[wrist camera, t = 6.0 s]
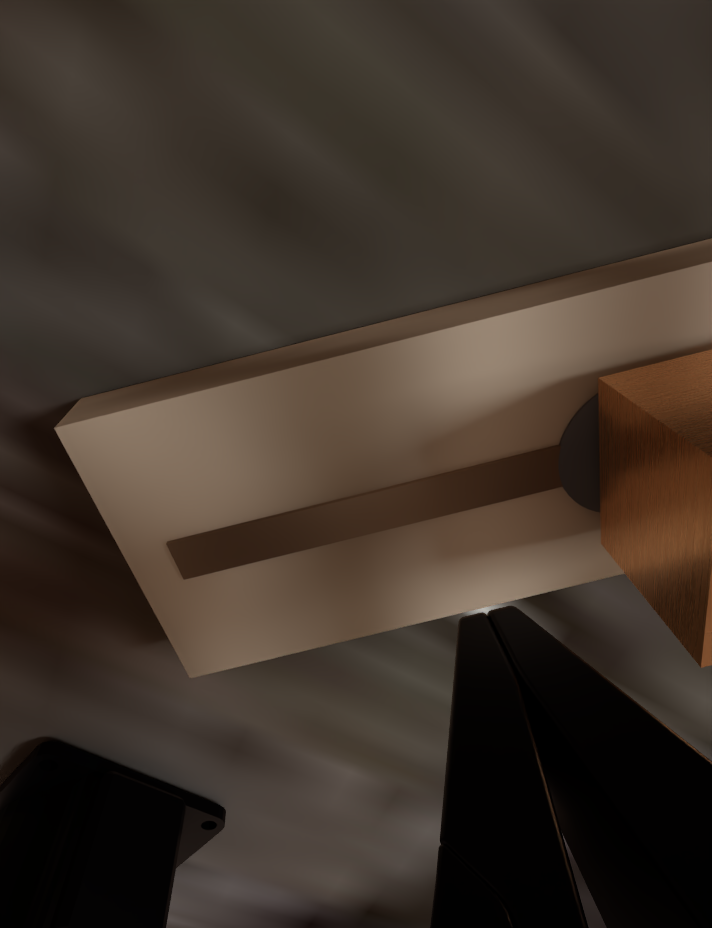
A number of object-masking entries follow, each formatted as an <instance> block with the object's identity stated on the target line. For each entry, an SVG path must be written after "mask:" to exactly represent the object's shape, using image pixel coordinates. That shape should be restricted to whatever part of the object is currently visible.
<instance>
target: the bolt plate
mask: <svg viewBox="0 0 712 928" xmlns="http://www.w3.org/2000/svg"><path fill="white" fill-rule="evenodd" d="M711 349H712V238H711V239H707V240H703V241H699V242H695V243H691V244H687V245H684V246H680V247H676V248H672V249H668V250H664V251H660V252H656V253H652V254H648V255H644V256H640V257H636V258H632V259H628V260H624V261H621V262H617V263H613V264H609V265H605V266H601V267H597V268H593V269H589V270H585V271H581V272H577V273H573V274H569V275H565V276H561V277H558V278H554V279H550V280H546V281H542V282H538V283H534V284H530V285H526V286H522V287H518V288H514V289H510V290H506V291H502V292H498V293H495V294H491V295H487V296H483V297H479V298H475V299H471V300H467V301H463V302H459V303H455V304H451V305H447V306H443V307H439V308H435V309H431V310H428V311H424V312H420V313H416V314H412V315H408V316H404V317H400V318H396V319H392V320H388V321H384V322H380V323H376V324H372V325H368V326H365V327H361V328H357V329H353V330H349V331H345V332H341V333H337V334H333V335H329V336H325V337H321V338H317V339H313V340H309V341H305V342H302V343H298V344H294V345H290V346H286V347H282V348H278V349H274V350H270V351H266V352H262V353H258V354H254V355H250V356H246V357H242V358H239V359H235V360H231V361H227V362H223V363H219V364H215V365H211V366H207V367H203V368H199V369H195V370H191V371H187V372H183V373H179V374H176V375H172V376H168V377H164V378H160V379H156V380H152V381H148V382H144V383H140V384H136V385H132V386H128V387H124V388H120V389H116V390H113V391H109V392H105V393H101V394H97V395H93V396H89V397H85V398H81V399H80V400H79V401H78V402H77V403H76V404H75V405H74V407H73V408H72V409H71V410H70V411H69V412H68V413H67V414H66V415H65V416H64V418H63V419H62V420H61V421H60V422H59V423H58V424H57V425H56V426H55V427H54V429H55V431H56V433H57V435H58V436H59V438H60V440H61V442H62V444H63V446H64V447H65V449H66V451H67V453H68V455H69V457H70V458H71V460H72V462H73V464H74V466H75V468H76V469H77V471H78V473H79V475H80V477H81V479H82V481H83V482H84V484H85V486H86V488H87V490H88V492H89V493H90V495H91V497H92V499H93V501H94V503H95V504H96V506H97V508H98V510H99V512H100V514H101V515H102V517H103V519H104V521H105V523H106V525H107V526H108V528H109V530H110V532H111V534H112V536H113V538H114V539H115V541H116V543H117V545H118V547H119V549H120V550H121V552H122V554H123V556H124V558H125V560H126V561H127V563H128V565H129V567H130V569H131V571H132V572H133V574H134V576H135V578H136V580H137V582H138V583H139V585H140V587H141V589H142V591H143V593H144V595H145V596H146V598H147V600H148V602H149V604H150V606H151V607H152V609H153V611H154V613H155V615H156V617H157V618H158V620H159V622H160V624H161V626H162V628H163V629H164V631H165V633H166V635H167V637H168V639H169V640H170V642H171V644H172V646H173V648H174V650H175V651H176V653H177V655H178V657H179V659H180V661H181V663H182V664H183V666H184V668H185V670H186V672H187V674H188V675H189V677H190V678H194V677H198V676H202V675H207V674H211V673H215V672H219V671H223V670H227V669H231V668H236V667H240V666H244V665H248V664H252V663H256V662H260V661H264V660H269V659H273V658H277V657H281V656H285V655H289V654H293V653H298V652H302V651H306V650H310V649H314V648H318V647H322V646H327V645H331V644H335V643H339V642H343V641H347V640H351V639H355V638H360V637H364V636H368V635H372V634H376V633H380V632H384V631H389V630H393V629H397V628H401V627H405V626H409V625H413V624H418V623H422V622H426V621H430V620H434V619H438V618H442V617H446V616H451V615H455V614H459V613H463V612H467V611H471V610H475V609H480V608H484V607H488V606H492V605H496V604H500V603H504V602H509V601H513V600H517V599H521V598H525V597H529V596H533V595H537V594H542V593H546V592H550V591H554V590H558V589H562V588H566V587H571V586H575V585H579V584H583V583H587V582H591V581H595V580H600V579H604V578H608V577H612V576H616V575H620V574H624V572H623V570H622V569H621V568H620V567H619V565H618V564H617V563H616V562H615V561H614V559H613V558H612V557H611V556H610V554H609V553H608V552H607V551H606V549H605V548H604V547H603V546H602V544H601V519H600V461H599V403H598V378H599V377H603V376H607V375H611V374H615V373H619V372H623V371H627V370H631V369H635V368H639V367H643V366H647V365H651V364H655V363H659V362H663V361H667V360H671V359H675V358H679V357H683V356H687V355H691V354H695V353H699V352H703V351H707V350H711Z"/></svg>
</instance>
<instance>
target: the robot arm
mask: <svg viewBox="0 0 712 928" xmlns="http://www.w3.org/2000/svg"><path fill="white" fill-rule="evenodd" d="M225 816H226V810H225V809H224V808H223V807H222V806H220V805H218V804H215V803H213V802H210V801H208V800H205V799H202V798H200V797H197V796H195V795H192V794H190V793H187V792H185V791H182V790H180V789H177V788H175V787H172V786H169V785H167V784H164V783H162V782H159V781H157V780H154V779H152V778H149V777H147V776H144V775H142V774H139V773H137V772H134V771H131V770H129V769H126V768H124V767H121V766H119V765H116V764H114V763H111V762H109V761H106V760H104V759H101V758H98V757H96V756H93V755H91V754H88V753H86V752H83V751H81V750H78V749H76V748H73V747H71V746H68V745H65V744H63V743H59V742H45V743H42V744H40V745H39V746H37V747H36V748H35V749H34V751H33V752H32V753H31V754H30V755H29V756H28V757H27V758H26V759H25V760H24V761H23V762H22V763H21V764H20V766H19V767H18V768H17V769H16V770H15V771H14V772H13V773H12V774H11V775H10V776H9V777H8V778H7V779H6V781H5V782H4V783H3V784H2V785H1V786H0V928H166V924H167V918H168V912H169V906H170V900H171V894H172V888H173V882H174V876H175V870H176V868H177V867H178V866H179V865H180V864H182V863H183V862H184V861H185V860H186V859H188V858H189V857H190V856H191V855H192V854H194V853H195V852H196V851H197V850H199V849H200V848H201V847H202V846H203V845H205V844H206V843H207V842H208V841H209V840H211V839H212V838H213V837H214V836H215V835H217V834H218V833H219V832H220V831H221V830H222V829H223V828H224V825H225ZM561 831H562V832H561ZM562 833H563V835H562ZM563 836H564V838H565V840H566V842H567V844H568V846H569V848H570V850H571V853H572V855H573V857H574V859H575V861H576V863H577V865H578V867H579V870H580V872H581V874H582V876H583V878H584V880H585V882H586V884H587V887H588V889H589V891H590V893H591V895H592V897H593V899H594V902H595V904H596V906H597V908H598V910H599V912H600V914H601V916H602V919H603V921H604V923H605V925H606V927H607V928H712V761H710V760H709V759H708V758H707V757H705V756H704V755H703V754H702V753H700V752H699V751H698V750H697V749H695V748H694V747H693V746H691V745H690V744H689V743H688V742H686V741H685V740H684V739H683V738H681V737H680V736H679V735H678V734H676V733H675V732H674V731H672V730H671V729H670V728H669V727H667V726H666V725H665V724H664V723H662V722H661V721H660V720H658V719H657V718H656V717H655V716H653V715H652V714H651V713H650V712H648V711H647V710H646V709H645V708H643V707H642V706H641V705H639V704H638V703H637V702H636V701H634V700H633V699H632V698H631V697H629V696H628V695H627V694H626V693H624V692H623V691H622V690H620V689H619V688H618V687H617V686H615V685H614V684H613V683H612V682H610V681H609V680H608V679H607V678H605V677H604V676H603V675H601V674H600V673H599V672H598V671H596V670H595V669H594V668H593V667H591V666H590V665H589V664H587V663H586V662H585V661H584V660H582V659H581V658H580V657H579V656H577V655H576V654H575V653H574V652H572V651H571V650H570V649H568V648H567V647H566V646H565V645H563V644H562V643H561V642H560V641H558V640H557V639H556V638H555V637H553V636H552V635H551V634H549V633H548V632H547V631H546V630H544V629H543V628H542V627H541V626H539V625H538V624H537V623H536V622H534V621H533V620H532V619H530V618H529V617H528V616H527V615H525V614H524V613H523V612H522V611H520V610H519V609H518V608H516V607H514V606H507V607H503V608H498V609H494V610H491V611H489V612H488V614H487V615H486V614H485V613H478V614H474V615H469V616H465V617H462V618H461V619H460V620H459V624H458V636H457V647H456V659H455V671H454V682H453V694H452V705H451V717H450V728H449V740H448V752H447V763H446V775H445V786H444V798H443V809H442V821H441V832H440V843H441V845H440V846H439V850H438V862H437V874H436V884H435V892H434V901H433V909H432V918H431V926H430V928H588V924H587V921H586V917H585V914H584V910H583V906H582V903H581V899H580V896H579V892H578V889H577V885H576V882H575V878H574V874H573V871H572V867H571V864H570V860H569V857H568V853H567V850H566V846H565V842H564V839H563Z"/></svg>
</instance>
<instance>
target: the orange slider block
mask: <svg viewBox="0 0 712 928" xmlns="http://www.w3.org/2000/svg"><path fill="white" fill-rule="evenodd" d="M598 403H599V461H600V519H601V544H602V546H603V547H604V548H605V549H606V551H607V552H608V553H609V554H610V556H611V557H612V558H613V559H614V561H615V562H616V563H617V564H618V565H619V567H620V568H621V569H622V570H623V572H624V573H625V574H626V575H627V577H628V578H629V579H630V580H631V582H632V583H633V584H634V585H635V587H636V588H637V589H638V590H639V591H640V593H641V594H642V595H643V596H644V598H645V599H646V600H647V601H648V603H649V604H650V605H651V606H652V608H653V609H654V610H655V611H656V612H657V614H658V615H659V616H660V617H661V619H662V620H663V621H664V622H665V624H666V625H667V626H668V627H669V629H670V630H671V631H672V632H673V634H674V635H675V636H676V637H677V638H678V640H679V641H680V642H681V643H682V645H683V646H684V647H685V648H686V650H687V651H688V652H689V653H690V655H691V656H692V657H693V658H694V660H695V661H696V662H697V663H698V664H699V666H700V667H705V666H709V665H712V349H711V350H707V351H703V352H699V353H695V354H691V355H687V356H683V357H679V358H675V359H671V360H667V361H663V362H659V363H655V364H651V365H647V366H643V367H639V368H635V369H631V370H627V371H623V372H619V373H615V374H611V375H607V376H603V377H599V378H598Z"/></svg>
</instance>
